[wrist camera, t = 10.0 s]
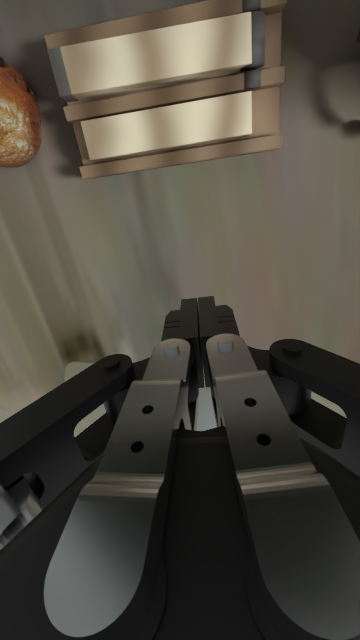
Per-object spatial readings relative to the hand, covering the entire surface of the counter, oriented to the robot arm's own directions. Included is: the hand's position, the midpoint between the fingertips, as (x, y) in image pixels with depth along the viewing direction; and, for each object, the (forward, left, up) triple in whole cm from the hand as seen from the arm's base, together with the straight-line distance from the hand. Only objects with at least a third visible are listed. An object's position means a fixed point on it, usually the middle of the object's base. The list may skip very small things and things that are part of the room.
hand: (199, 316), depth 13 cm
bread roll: (+21, -15, -27) cm, 37 cm away
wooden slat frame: (+1, -13, -27) cm, 30 cm away
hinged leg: (+2, -16, -24) cm, 29 cm away
